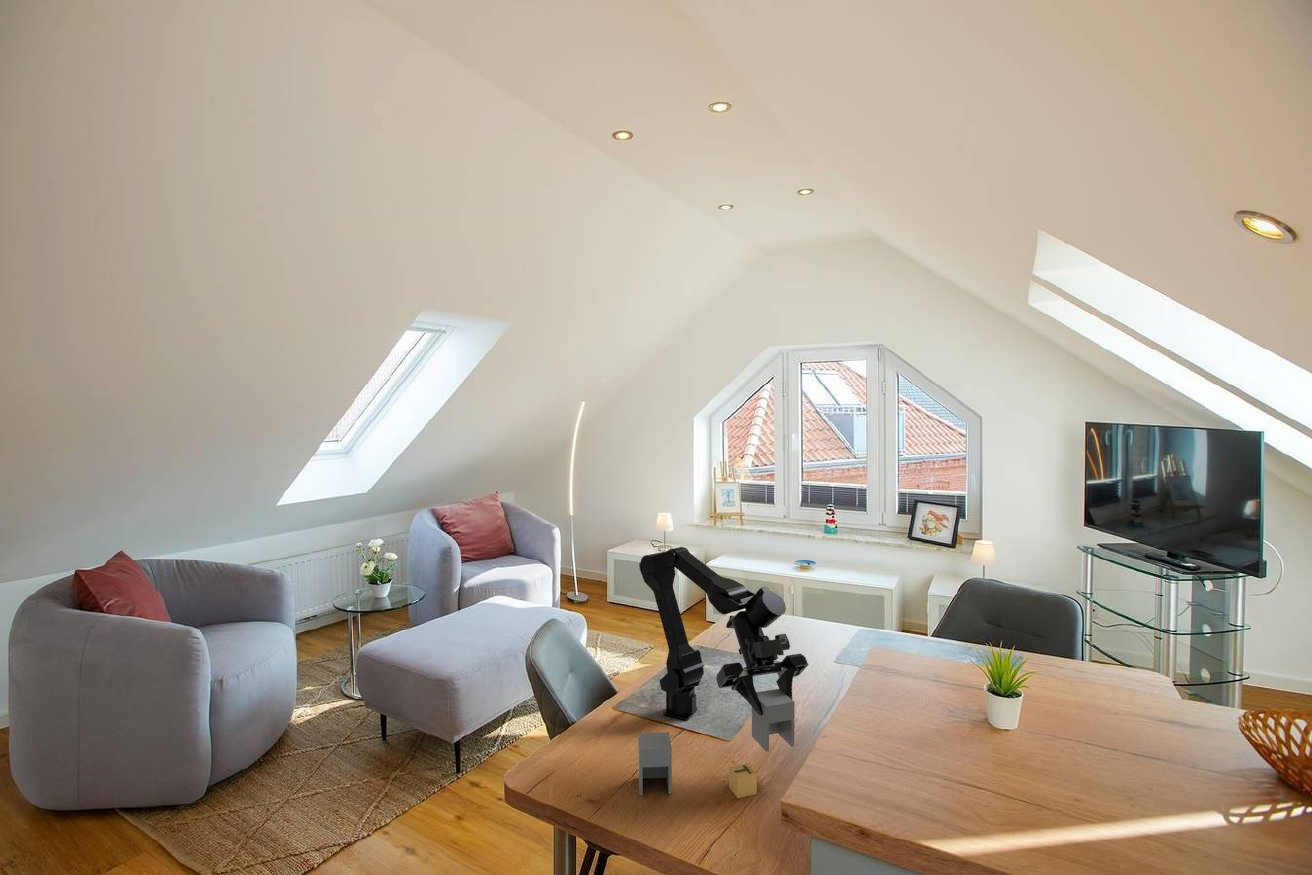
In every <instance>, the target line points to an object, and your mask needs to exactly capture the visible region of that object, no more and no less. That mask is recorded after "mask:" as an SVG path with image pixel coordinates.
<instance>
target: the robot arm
mask: <svg viewBox="0 0 1312 875" xmlns="http://www.w3.org/2000/svg"><path fill="white" fill-rule="evenodd" d="M638 567H639V572H640V575H641V576H642V579H643V581H644V583H645V584H646V586H647V587H648V588H650V590H652V592H653V595H654V599H655V603H656V606H657V607H656V608H657V610H658V613H659V617H660V621H661V625H662V629H663V632H664V635H665V640H666V644H667V647H668V648H667V649H668V653H667V657H666V658H667V659H666V661H665V662H666V663H665V665H666V671H667V672H666V674H665V675H663V677H662V678H661V679H659V685H660V690H661V691H663V692H665V695H666V696H665V700H666V701H665V710H664V711H663V712H662V715H663V716H666V717H671V718H674V719H678V720H683V721H688V720H689V719H691V717H692V716H693V715H694V714H695V713H696V712H697V710H698V707H697V694H696V693H695V687H698V686H700V683H701V680H702V679H703V675H704V674H705V670H704V667H705V664H704V662H703V660H702V656H701V652H700V650H699V649H696V650H695V649H694V648H693V647H692V645H690V644H689V641H688V637H687V633H686V630H685V629H686V628H685V626H684V623H683V622H684V621H683V619H682V615H681V611H680V608H679V604H678V600H677V596H676V593H675V589H674V582H675V579H676V578H675V577H676V570H678V571H679V572H680V573H682V575H683V576H685V577H687V579H689V580H690V581H691V582H692V583H694V584H695V585H696V586H697V587H698V588H700V589H701V590H702V591H704V593H705V594H706V595H707V599H708V601H709V603H710V604H711V605H712V607H714V608H715V610H716V611H717V612H718V613H719V614H721V615H728V614H732V613H735V612H737V613H736V614H735V615H729V618H728V620H727V622H726V626H725V627H726V629H734V634H735V635H736V636H735V637H736V639H737V642H738V645H739V649H738V654H739V655H741V656H742V658H743V661H744V664H745V667H743V665H742V663H740V662H732V663H731V662H730V663H724V664H722V666H721V668H720V670H719V671H718V673H717V674H716V683H717V687H718V689H724V688H731V690H732V691H736V692H737V693H738V694H739V695H740V696H741V697H743V699H745V701H746V702H747V703H748V704H749V705H750V706H751V708H752V707H753V708H754V710H755V711H756V712H757V713H758V714H759V715H762V714H763V712H762V708H761V704H760V701H759V699H758V696H757V693H756V692H757V690H756V688H755V686H754V677H756V676H757V677H758V676H759V677H760V676H764V675H770V674H777V676H778V679H777V680H776V684H777V687H778V689H780V690H781V691H782V692H784V693H785V694H786V695H787V696H788V697H789V698H791V699H792V700H793V679H794V678H795V677H798V676H801V674H802V673H803V672H804V671H805V670H806V669H807V667H808V666H809V662H808V661H807V658H806V656H805V655H804V654H802V653H796V654H795V653H794V654H788V655H786V656H785V657H784V658H783V659H782V661H780V662H774V661H777V660H778V659H779V657H778V656H784V655H785V653H784V651H788V650H790V648H791V645H790V644H791V643H790V640H789V638H788V636H787V634H786V633H780V634H776V635H775V636H774V639H770V637H769V636H768V635H765V634H764V631H763V629H764V628H765V629H767V628H768V627H769V626H771V625H772V624H773V623H774V622H776V621H777V620H778V619H779V618H780V617H782V616H783V615H784V614H786V610H787V607H786V602H785V601H784V599H783V598H782V596H780V595H779V594H778V593H776V592H775V591H772V590H770V588H769V587H768V586H763V587H760V588H759V589H758V590H757V591H756V593H754V592H753V591H750V590H748V588H747V587H746V586H745V585H744V584H742V583H740V582H738V581H737V580H735V579H733V578H729V577H724V576H721V575H720V574H718V573H717V572H715V571H714V570H713V569H711V568H710V567H709V566H707V564H705V563H703V561H701V560H700V559H699V558H697V557H696V556H695V555H694V554H692V553H691V552H690V551H689V550H688V548H687V547H685V546H679V547H674V548H670V549H668V550H666V551H661V552H655V553H649V554H645V555H643V556H642V557H641V559H640V562H639V565H638ZM744 609H745V610H744Z"/></svg>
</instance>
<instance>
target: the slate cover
mask: <svg viewBox="0 0 1312 875" xmlns="http://www.w3.org/2000/svg"><path fill="white" fill-rule="evenodd" d="M672 749H673V748H672V742H671V737H670V732H669V731H664V732H663V731H661V732H660V731H659V732H638V733H637V752H638V753H637V760H638V761H637V763H638V764H637V765H638V766H637V768H638V770H637V771H638V772H637V774H638V776H637V778H638V790H639V791H638V792H639V794H638V795H639V796H640V797H641V796H643V795H644V793H643V790H644V789H643V788H644V787H643V784H644V783H643V781H644V780H643V779H663V778H664V779H665V778H666V783H667V784H666V785H667V790H668V792H667V793H668V795H673V781H672V780H673V776H672V775H673V770H672V768H673V766H672V765H673V761H672V760H673V758H672V757H673V756H672V755H673V751H672Z"/></svg>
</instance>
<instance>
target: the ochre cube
mask: <svg viewBox="0 0 1312 875" xmlns="http://www.w3.org/2000/svg"><path fill="white" fill-rule="evenodd" d="M757 775H758V773H756V772H755V770H754V769H753V768H752V767H751V766H750V765H749V764H748V762H746V763H742V764H738V765H733V766H732V765H731V766H728V787H729V789H730V790H731V791H732V793H733V794H734V795H735V797H736V798H737V799H741V798H746V797H750V796H754V795H757V794H758V789H757V788H758V786H757V785H758V783H757V782H758V778H757V777H758V776H757Z"/></svg>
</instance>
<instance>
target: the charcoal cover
mask: <svg viewBox="0 0 1312 875" xmlns="http://www.w3.org/2000/svg"><path fill="white" fill-rule="evenodd" d="M756 693H757V696H758V699H759V701H760V704H761V708H762V712H763V714H762V715H759V714H758V713H757V712H756V711H755V710H754V708H753V707H752V706H751V737H752V739H754V740H755V741H756V742H757V743H758V745H759V746H760V747H761V748H762V749H763V750H764V751H765V752H767V753H768V752H770V736H771V735H775V734H778V735H779V736H780V738H782V739H783V740H784V741H785V743H787V744H788V745H789V746H790V747H795V713H796V712H795V706H796V704H795V701H794V700H793V698H792V699H791V698H789V697H788V696H787V695H786V694H785V693H784V692H782V691H781V690H780V689H779V688H775V689H770V690H769V689H768V690H763V691H756Z"/></svg>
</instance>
